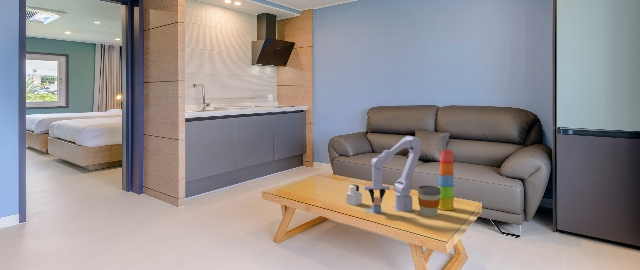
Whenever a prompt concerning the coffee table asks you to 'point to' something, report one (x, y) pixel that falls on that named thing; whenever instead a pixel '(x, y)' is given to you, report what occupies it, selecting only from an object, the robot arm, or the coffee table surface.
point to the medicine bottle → (354, 195)
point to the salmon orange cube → (377, 201)
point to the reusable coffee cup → (429, 200)
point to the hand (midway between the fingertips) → (376, 202)
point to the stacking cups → (446, 181)
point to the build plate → (369, 210)
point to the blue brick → (376, 208)
